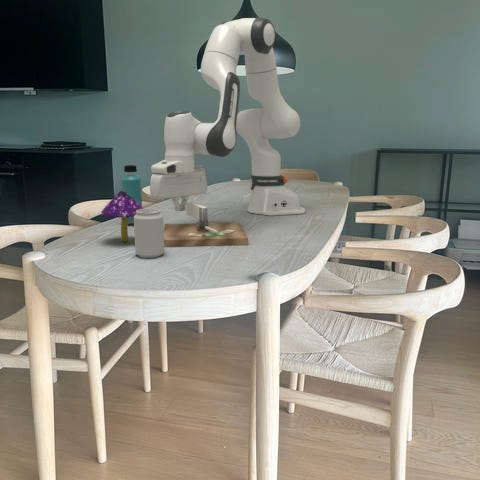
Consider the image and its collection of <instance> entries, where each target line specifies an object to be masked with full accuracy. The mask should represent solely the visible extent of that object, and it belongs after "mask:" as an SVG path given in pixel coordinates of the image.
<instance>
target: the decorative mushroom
mask: <svg viewBox="0 0 480 480" xmlns="http://www.w3.org/2000/svg"><path fill="white" fill-rule="evenodd" d="M140 209H145V208H144V206H143V205H142V206H141V205H140V204H139V203H138V202H137V201H136V200H135V199H134V198H132V197H131V196H129V195H128V194H127V193H126V192H125V191H122V190H120V191H119V192H118V193H117V194H116V195H115V196H114V197H113V198H112V199H111V200H110V201H109V202H108V203H107V204H106V205H105V207H104V208H102V210H101V211H100V212H101V216H104V217H107V218H121V222H120V232H121V233H120V235H121V241H122V243H127V242H128V241H129V233H128V227H129V226H128V224H129V222H128V217H134V216H135V215H136V211H137V210H140Z"/></svg>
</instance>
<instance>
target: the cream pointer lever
mask: <svg viewBox="0 0 480 480" xmlns="http://www.w3.org/2000/svg"><path fill="white" fill-rule="evenodd" d="M185 211H186V216H189V217H190V218H191V217H192V218H194V219H196V220H199V222H198V223H199V229H200V230H209V231H211V232H213V233H216V234H217V233H218V231H216V230H214V229H212V228H209V227H208V223H209V207H208V206H204V205H201V204H199V203H197V202H193V201H188V202H187V204H186V210H185Z"/></svg>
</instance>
